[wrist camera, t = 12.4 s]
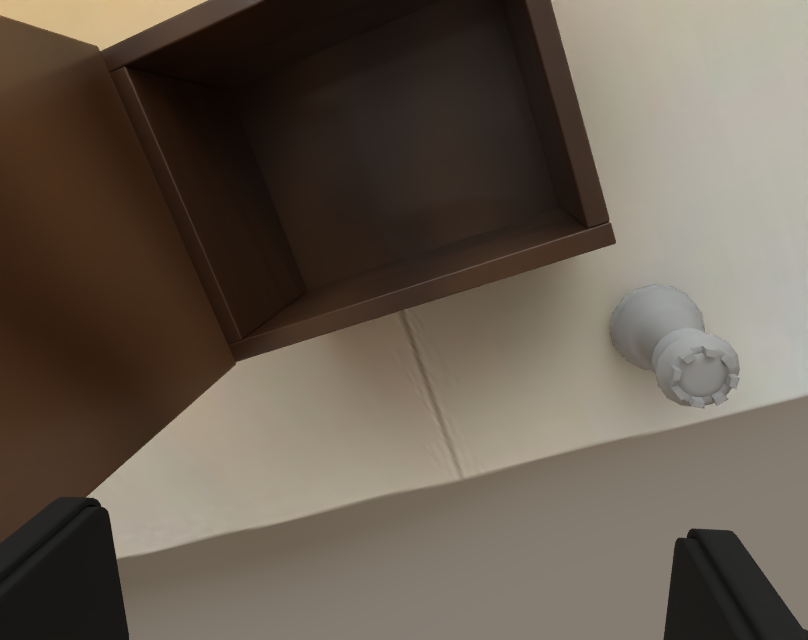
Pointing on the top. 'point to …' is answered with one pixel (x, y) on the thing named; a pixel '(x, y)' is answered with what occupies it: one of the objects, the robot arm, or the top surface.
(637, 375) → the top surface
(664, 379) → the rook chess piece
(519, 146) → the toy chest
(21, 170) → the box lid
